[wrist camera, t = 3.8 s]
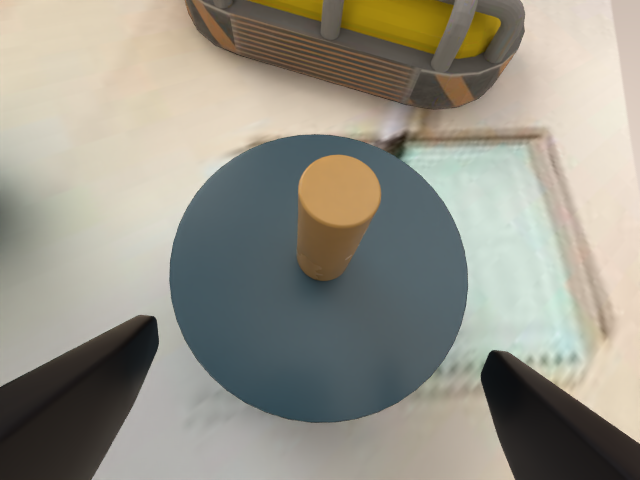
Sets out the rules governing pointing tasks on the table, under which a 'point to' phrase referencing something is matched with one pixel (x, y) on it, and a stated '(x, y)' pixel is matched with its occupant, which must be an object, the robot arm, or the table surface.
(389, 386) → the lid
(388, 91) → the cage light
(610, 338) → the table surface
